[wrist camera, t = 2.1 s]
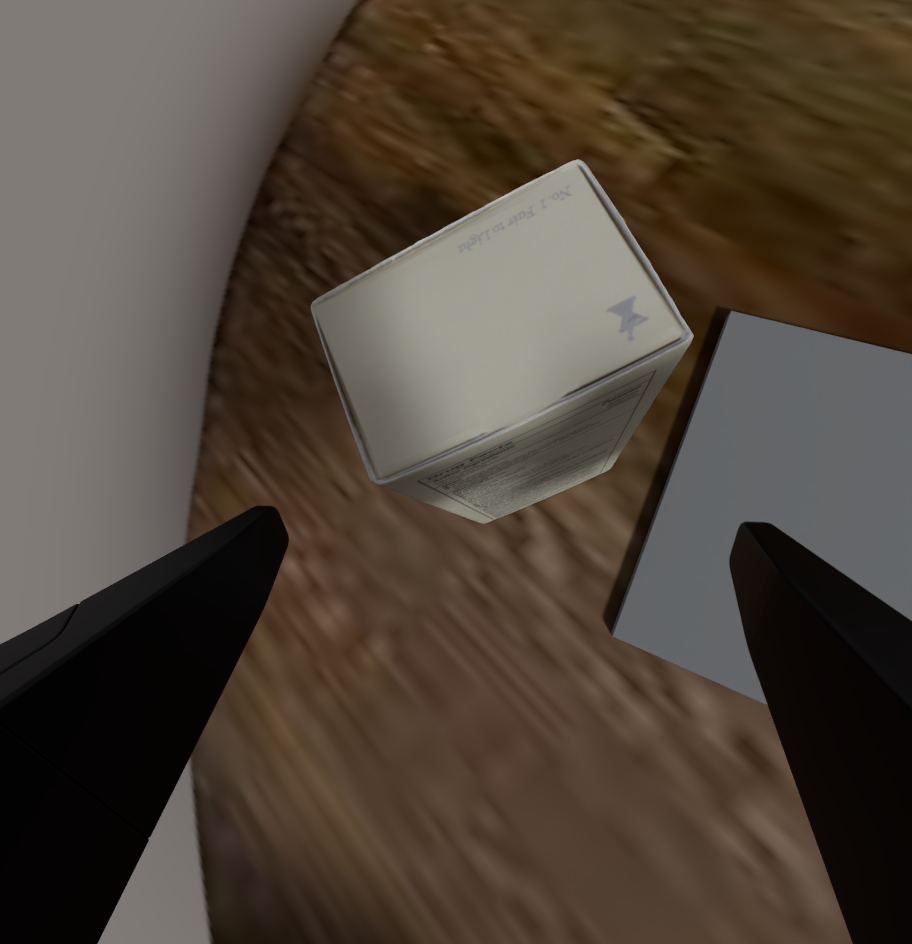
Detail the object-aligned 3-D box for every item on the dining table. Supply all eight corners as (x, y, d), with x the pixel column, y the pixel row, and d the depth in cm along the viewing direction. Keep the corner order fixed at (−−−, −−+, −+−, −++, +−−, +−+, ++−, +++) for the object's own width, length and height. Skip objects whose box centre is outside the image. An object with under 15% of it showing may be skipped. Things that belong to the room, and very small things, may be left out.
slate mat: (976, 796, 15) (994, 806, 14) (610, 633, 18) (612, 636, 17) (1082, 406, 16) (1102, 400, 16) (725, 318, 19) (731, 310, 19)
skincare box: (568, 384, 20) (591, 139, 9) (615, 473, 19) (713, 334, 7) (440, 443, 21) (298, 292, 9) (477, 533, 20) (369, 491, 8)
